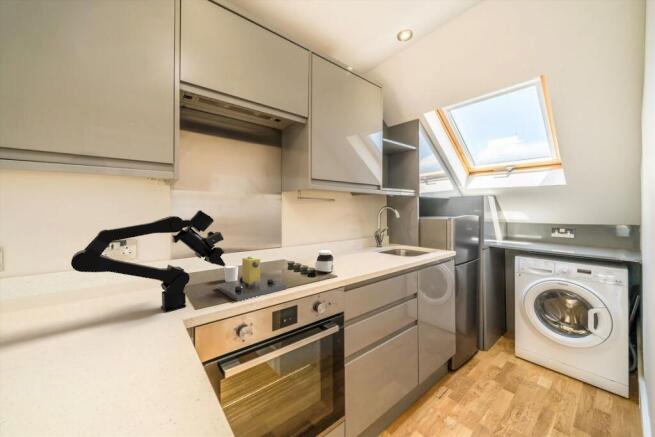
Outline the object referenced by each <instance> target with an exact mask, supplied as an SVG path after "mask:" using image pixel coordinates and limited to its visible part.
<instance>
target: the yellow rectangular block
mask: <svg viewBox="0 0 655 437" xmlns="http://www.w3.org/2000/svg"><path fill="white" fill-rule="evenodd" d="M241 261H242V267H241V268H242V270H241V271H242V276H243V281H245V282H247V283H249V284H251V283H253V284H254V281H258V280H259V281H260V276H261V258H258V257H255V256H254V255H253V256H252V255H251V256H247V257H243V258H242V259H241Z"/></svg>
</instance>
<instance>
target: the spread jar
mask: <svg viewBox="0 0 655 437" xmlns="http://www.w3.org/2000/svg"><path fill="white" fill-rule="evenodd" d="M318 254H319V255H317V257H316V262H315V264H314V268H316V271H317V272H318V273H319V274H321V273H322V274H323V275H326V274H327V273H329V274H332V273H333V271H334V266H335V264H334V263H335V262H334V259H335V258H334V256H333V255H332V251H331V250H326V249H325V250H319V251H318ZM327 275H328V274H327Z"/></svg>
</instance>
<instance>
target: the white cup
mask: <svg viewBox="0 0 655 437" xmlns="http://www.w3.org/2000/svg"><path fill="white" fill-rule="evenodd" d="M223 272H224V281H225V283H226V282H231V281H236V280H238V277H239V276H238V275H239V274H238V273H239V265H236V264H235V265H234V264H233V265H232V264H231V265H225V266H223Z"/></svg>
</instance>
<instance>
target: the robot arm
mask: <svg viewBox="0 0 655 437" xmlns="http://www.w3.org/2000/svg"><path fill="white" fill-rule="evenodd" d="M214 222H215V220H214V219H213V218H212V216H210V215H208V214H207V213H205V212H204V211H202V210H197V212H196V213H195V214H194V215H193V216H192V217H191V218H190V219H183V218H181V217H180V216H175V215H169V216H166V217H163V218H160V219H157V220H154V221H152V222H147V223H141V224H134V225H130V226H125V227H124V226H123V227H115V228H111V229H103V230H102V229H101V230H100V231H99V232H98V233H97V234H96V236H95V237H94V238H93V239H92V240H91V242H90V243H88V245H87V246H86V247H85V248H84V249H82V250H79V251H77V252H75V253H74V254H73V256H72V258H71V260H70V265H71V267H72V269H73V271H76V272H81V273H114V274H120V275H121V274H122V275H125V276H133V277H138V278H145V279H150V280H154V281H155V280H156V281H160V282H161V284H160V286H161V288H162V290H164V291H161V306H160V308H161V310H163V311H164V312H165V313H167V312H169V313H170V312H172V311H175V310H179V309H184V308H186V307H187V304H186V303H187V301H186V300H187V299H186V298H187V296H186V292H185V287H186V286H187V284H189V282H190V278H191V276H190V274H189V273H188V272H187V271H186V270H185V269H184V268H182V267H180V266H173V265H170V264H167V267H165V268H164V267H163V268H161V267H156V266H155V267H154V266H151V265H144V264H140V263H139V264H138V263H134V262H129V261H124V260H119V259H114V258H111V257H109V256H107V255H104V254H103V253H105V252H104V251H105V250H106V249H107V248H108V246H109V245H110V244H111V243H112V242H115V241H121V240H126V239H131V238H136V237H142V236H147V235H151V234H168V233H169V234H171V233H174V234H172V236H171V237H172V243H174V244H177V243H178V242H179V241H180V242H182V244H183V245H185V246H187V247H188V248H189V249H190V250H191V251H193V252H194V255H195V256H196V257H197V258H198V259H199V260H200V259H203V261H205V262H207V263H208V264H209V263H210V264H211V265H217V266H220V267H225V266H227V265H226V263H225V261H224V259H223V258H222V255H223V254H224V253H225V250H224V249H223V248H222V247H219V246H217V247H215V244H217V243H219V242H222V241H224V239H225V238H224V236H223V234H222V232H220V231H216V232H213V231H209V232H207V233H206V234H207V236H206V237H205V236H204V237H203V236H201V235H200V234H199V233H200V232H203V233H204V232H205V231H206V230H207V229H208V228H209V227H210V226H211V225H212V224H213V223H214ZM175 233H177V234H175Z"/></svg>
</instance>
